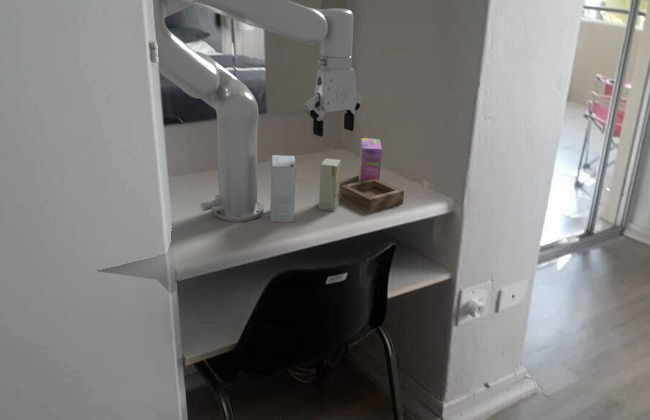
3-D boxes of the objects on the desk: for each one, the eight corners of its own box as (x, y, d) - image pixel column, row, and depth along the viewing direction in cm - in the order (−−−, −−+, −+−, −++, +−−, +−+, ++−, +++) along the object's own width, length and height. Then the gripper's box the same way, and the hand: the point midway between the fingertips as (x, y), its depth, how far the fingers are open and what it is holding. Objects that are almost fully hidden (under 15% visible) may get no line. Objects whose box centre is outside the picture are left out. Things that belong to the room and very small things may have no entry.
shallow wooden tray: (369, 212, 155) (370, 199, 154) (340, 197, 164) (341, 185, 162) (403, 203, 162) (404, 191, 161) (373, 189, 171) (374, 178, 169)
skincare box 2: (334, 211, 154) (337, 166, 150) (318, 209, 155) (320, 165, 150) (339, 202, 160) (341, 159, 156) (323, 201, 161) (325, 157, 156)
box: (379, 188, 172) (382, 148, 167) (359, 187, 172) (362, 147, 167) (377, 176, 181) (380, 138, 177) (358, 175, 181) (360, 137, 177)
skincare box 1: (270, 209, 154) (270, 154, 148) (293, 209, 155) (294, 154, 149) (270, 223, 146) (270, 165, 141) (295, 223, 147) (296, 165, 141)
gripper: (316, 68, 136) (314, 141, 143) (373, 62, 146) (369, 131, 152) (297, 63, 141) (296, 134, 148) (353, 58, 151) (350, 124, 158)
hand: (333, 132), depth 150 cm, fingers open, 9 cm apart
